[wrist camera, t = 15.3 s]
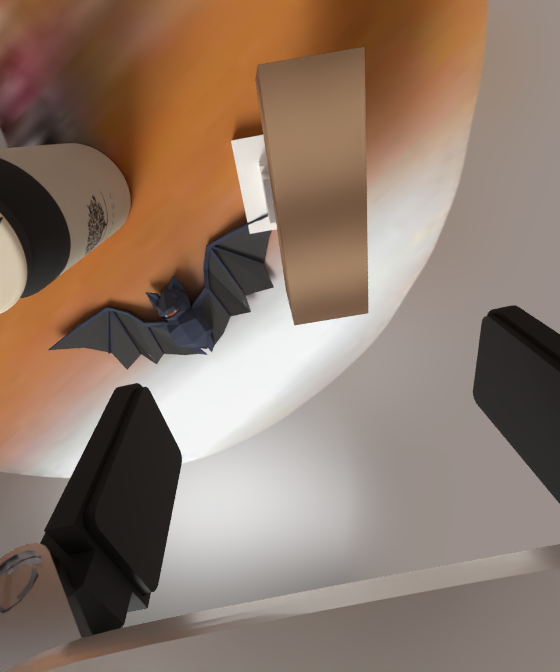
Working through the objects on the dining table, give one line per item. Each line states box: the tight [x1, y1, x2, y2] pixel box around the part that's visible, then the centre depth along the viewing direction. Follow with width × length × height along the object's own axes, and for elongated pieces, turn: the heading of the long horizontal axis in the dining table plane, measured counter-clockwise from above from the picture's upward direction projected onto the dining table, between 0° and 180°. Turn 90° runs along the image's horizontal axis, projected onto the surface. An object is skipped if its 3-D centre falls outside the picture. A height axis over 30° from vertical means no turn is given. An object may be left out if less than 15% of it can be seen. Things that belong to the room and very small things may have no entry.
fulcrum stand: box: [231, 135, 277, 234], centre depth 29 cm, size 8×10×9 cm
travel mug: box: [0, 143, 131, 314], centre depth 24 cm, size 8×8×18 cm
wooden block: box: [255, 47, 368, 325], centre depth 22 cm, size 14×5×6 cm, turn 8°
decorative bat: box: [49, 214, 273, 369], centre depth 37 cm, size 30×4×10 cm
